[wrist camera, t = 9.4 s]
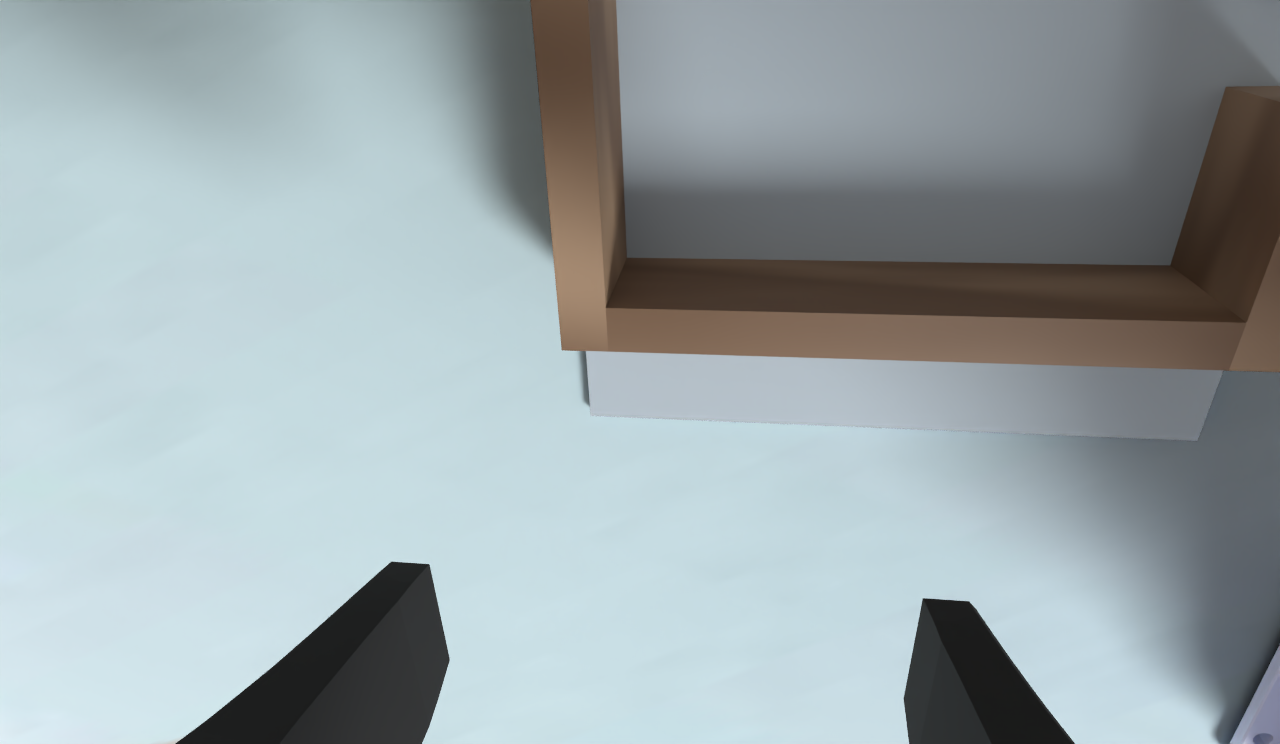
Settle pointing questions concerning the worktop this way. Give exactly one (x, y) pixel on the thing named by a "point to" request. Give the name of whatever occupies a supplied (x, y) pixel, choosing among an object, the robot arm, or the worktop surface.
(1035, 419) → the mat
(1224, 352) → the wooden frame
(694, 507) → the worktop surface
